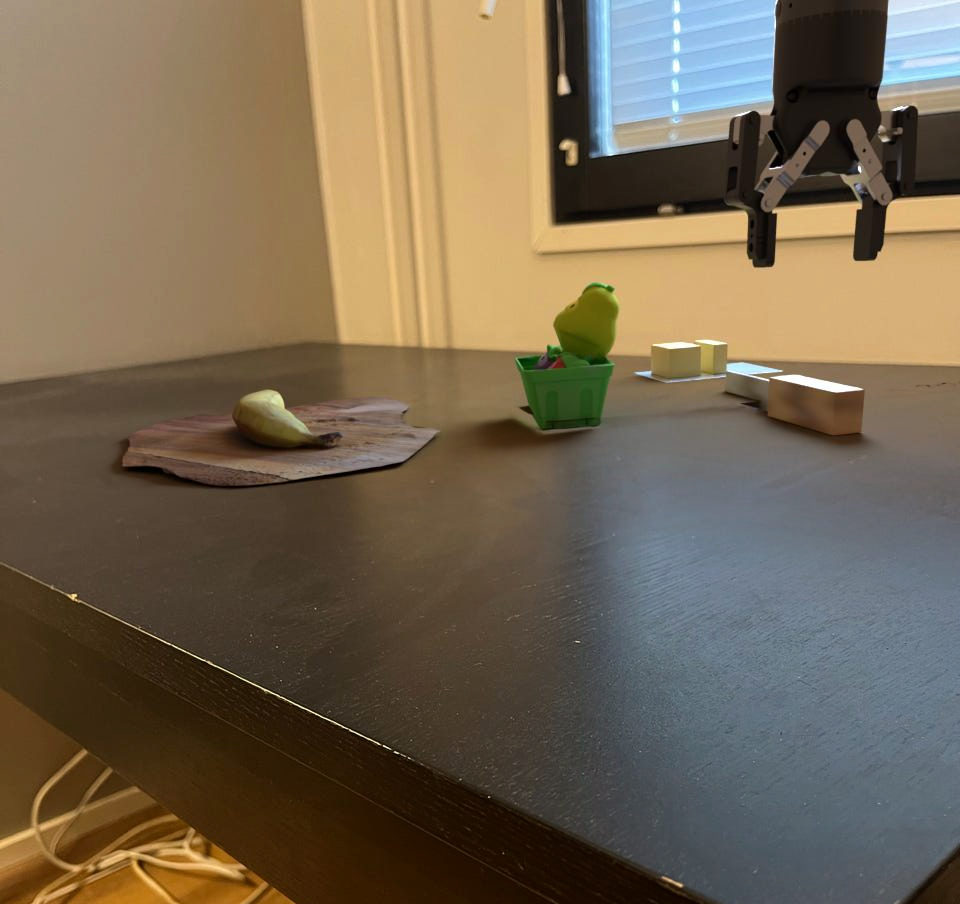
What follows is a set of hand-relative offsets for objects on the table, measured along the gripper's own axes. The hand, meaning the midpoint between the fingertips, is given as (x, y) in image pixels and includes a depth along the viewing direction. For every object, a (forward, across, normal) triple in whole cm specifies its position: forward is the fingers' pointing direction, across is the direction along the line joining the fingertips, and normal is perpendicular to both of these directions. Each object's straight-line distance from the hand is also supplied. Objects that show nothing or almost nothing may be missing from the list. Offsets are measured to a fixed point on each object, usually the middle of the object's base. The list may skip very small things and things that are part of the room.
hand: (814, 264), depth 75 cm
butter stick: (+11, +1, +27) cm, 29 cm away
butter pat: (+11, +4, +27) cm, 30 cm away
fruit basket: (+12, -16, +12) cm, 23 cm away
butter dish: (+12, +4, +27) cm, 30 cm away
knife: (+12, 0, +4) cm, 13 cm away
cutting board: (+12, -41, +16) cm, 46 cm away
